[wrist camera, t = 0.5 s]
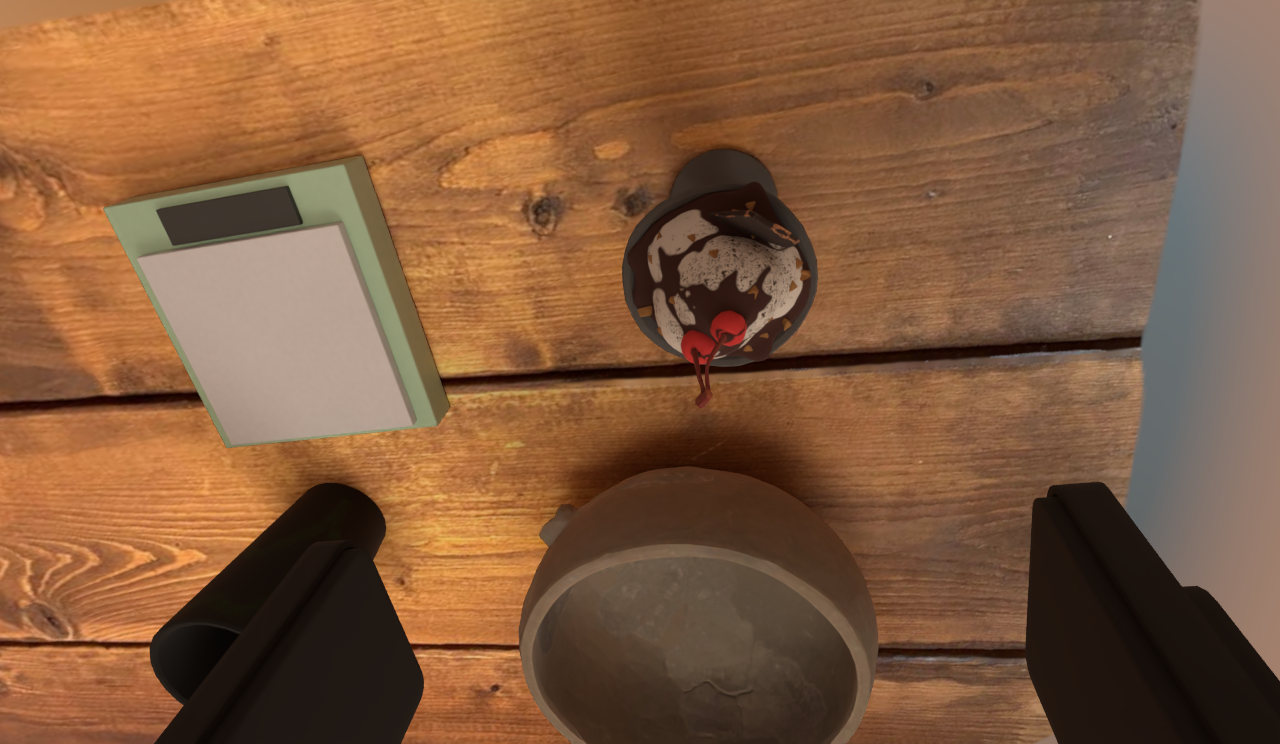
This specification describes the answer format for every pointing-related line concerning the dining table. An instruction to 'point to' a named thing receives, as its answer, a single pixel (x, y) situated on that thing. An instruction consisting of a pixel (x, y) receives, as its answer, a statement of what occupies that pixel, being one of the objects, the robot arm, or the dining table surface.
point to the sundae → (720, 266)
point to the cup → (257, 582)
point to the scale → (286, 303)
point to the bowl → (697, 617)
